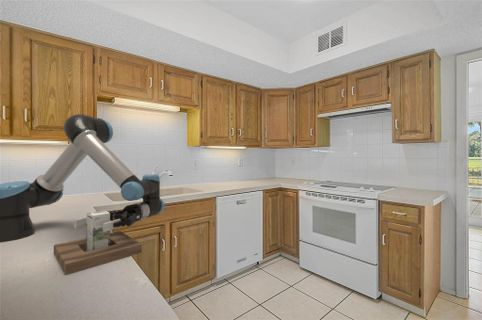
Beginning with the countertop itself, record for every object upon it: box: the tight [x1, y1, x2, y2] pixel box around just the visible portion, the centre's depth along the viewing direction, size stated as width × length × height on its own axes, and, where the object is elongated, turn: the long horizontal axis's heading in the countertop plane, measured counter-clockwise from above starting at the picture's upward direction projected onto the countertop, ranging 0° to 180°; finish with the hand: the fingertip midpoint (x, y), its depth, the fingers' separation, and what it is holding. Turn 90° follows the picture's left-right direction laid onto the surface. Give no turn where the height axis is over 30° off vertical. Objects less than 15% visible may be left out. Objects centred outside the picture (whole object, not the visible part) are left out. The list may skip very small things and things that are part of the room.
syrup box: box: [85, 210, 111, 252], centre depth 82 cm, size 6×6×14 cm
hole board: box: [53, 230, 143, 275], centre depth 82 cm, size 22×22×3 cm
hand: (88, 226), depth 79 cm, fingers open, 13 cm apart
